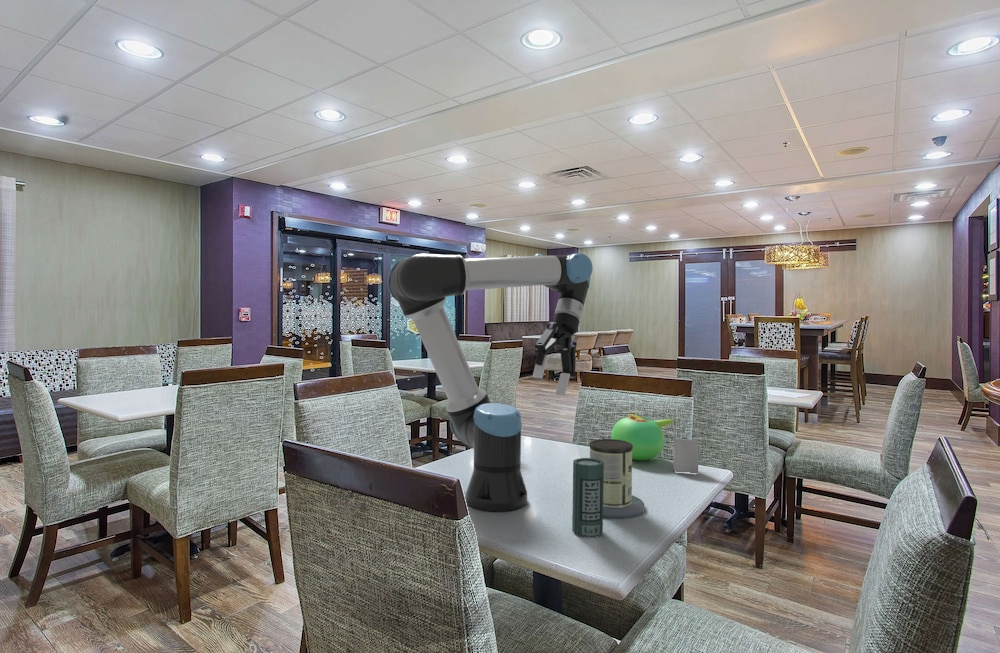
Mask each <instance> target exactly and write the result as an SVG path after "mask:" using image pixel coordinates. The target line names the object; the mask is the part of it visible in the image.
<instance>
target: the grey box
mask: <svg viewBox="0 0 1000 653" xmlns="http://www.w3.org/2000/svg"><path fill="white" fill-rule="evenodd" d="M672 461H673V467H672V468H673V469H674V471H676V472H690V473H698V474H699V440H698V439H688V438H673V460H672ZM674 471H673V472H674Z"/></svg>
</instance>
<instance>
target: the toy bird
mask: <svg viewBox="0 0 1000 653" xmlns="http://www.w3.org/2000/svg"><path fill="white" fill-rule="evenodd" d="M673 422H674V420H673V419H669V418H667V419H657V420H652V419H649V418H648V417H647V416H640V415H636V414H631V413H628V414H627V416H625V417H623V418H621V419H620V420H618V421H617V422H615V424H614V426H613V428H612V430H611V433H610V434H611V438H610V439H615V440H622V441H626V442H629V443H631V444H632V445H633V448H632V460H633V461H634V460H635V461H647V460H652V459H655V458H656V457H657V456H659V454H661V453H662V451H663V450H664V447H665V441H666V437H665V434H664V430H663V429H662V428H664V427H666V426H668V425H670V424H672V423H673Z"/></svg>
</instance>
